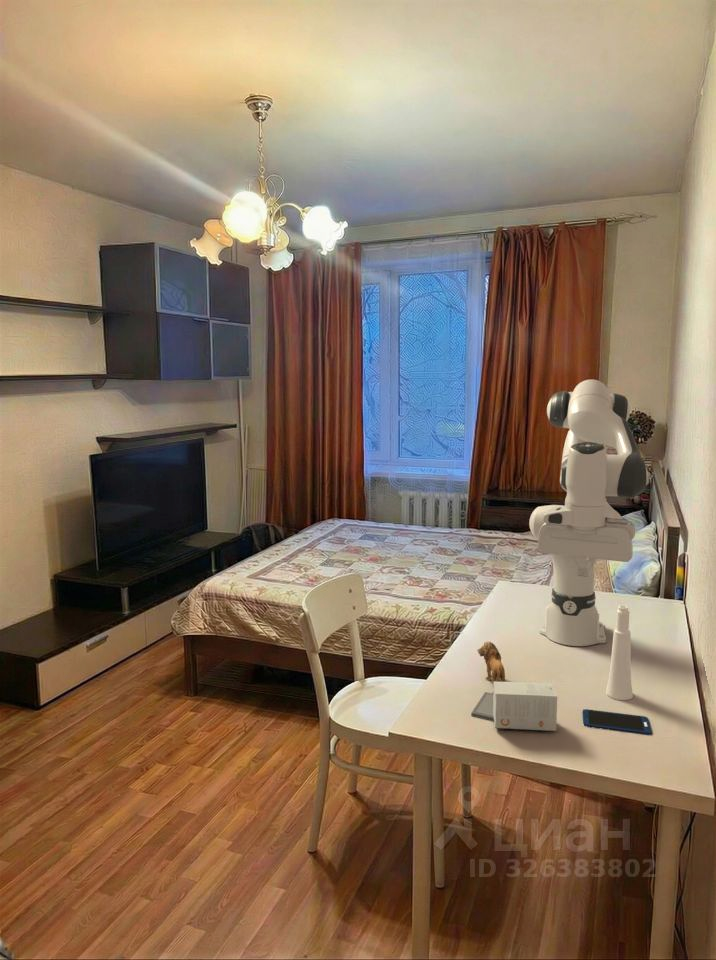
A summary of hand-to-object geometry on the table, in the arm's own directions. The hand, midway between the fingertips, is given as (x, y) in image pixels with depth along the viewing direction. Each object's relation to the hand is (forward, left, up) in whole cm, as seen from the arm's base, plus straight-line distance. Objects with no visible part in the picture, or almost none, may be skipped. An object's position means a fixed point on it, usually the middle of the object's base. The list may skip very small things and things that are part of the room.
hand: (583, 575), depth 147 cm
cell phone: (+5, +9, -32) cm, 33 cm away
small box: (+12, -3, -26) cm, 29 cm away
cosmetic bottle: (-9, +8, -31) cm, 34 cm away
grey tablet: (+10, -13, -31) cm, 35 cm away
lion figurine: (-2, -21, -31) cm, 38 cm away
